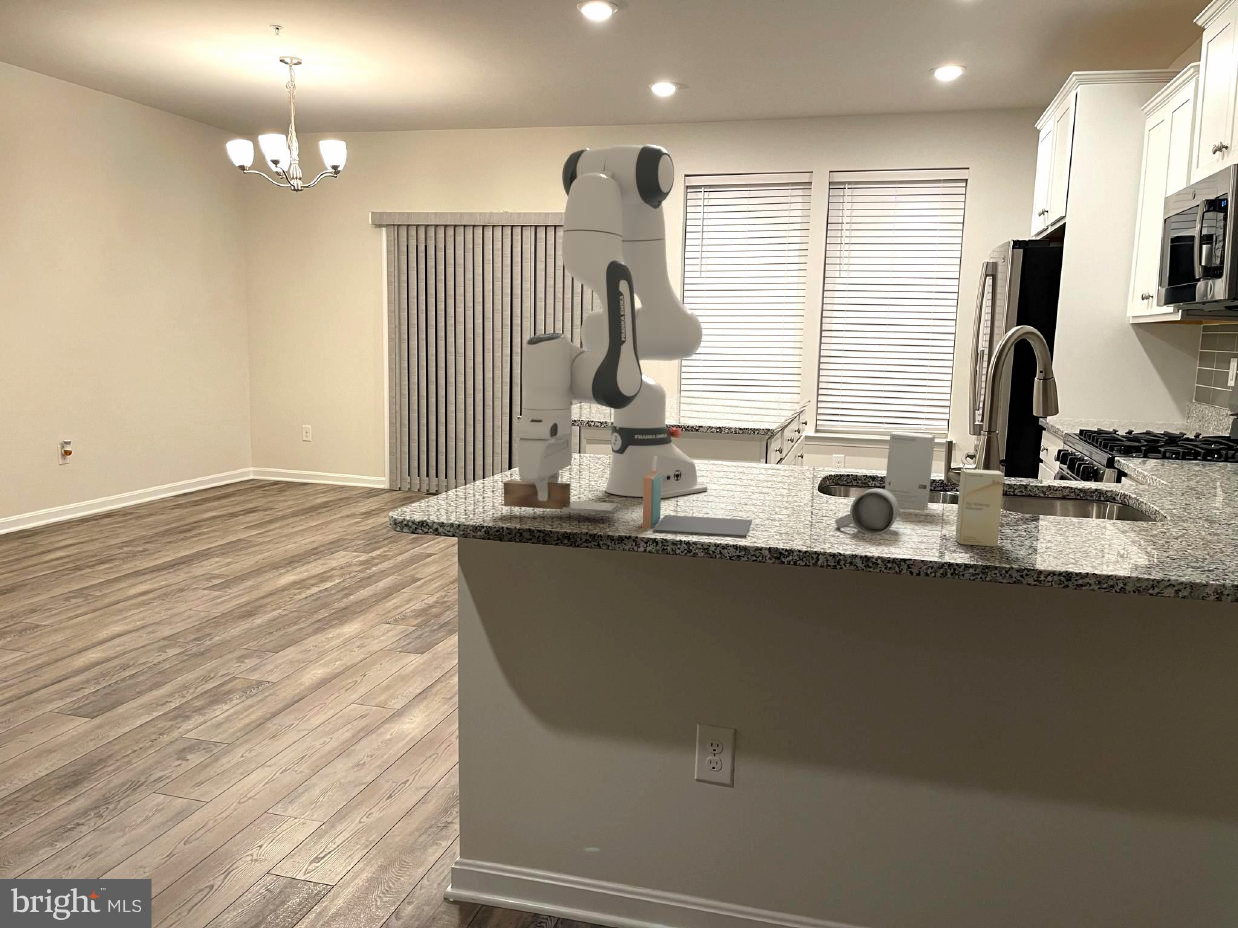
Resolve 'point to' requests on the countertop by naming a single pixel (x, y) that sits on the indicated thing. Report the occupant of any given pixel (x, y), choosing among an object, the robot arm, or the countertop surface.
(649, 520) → the tile
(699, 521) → the mat
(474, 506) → the countertop surface
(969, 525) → the skincare box
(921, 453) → the skincare box
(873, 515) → the ceramic mug
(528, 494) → the turner
